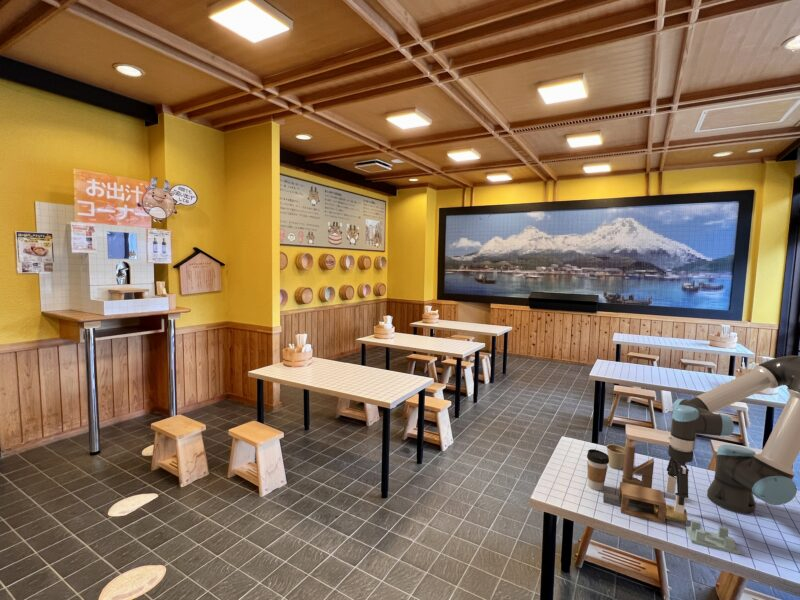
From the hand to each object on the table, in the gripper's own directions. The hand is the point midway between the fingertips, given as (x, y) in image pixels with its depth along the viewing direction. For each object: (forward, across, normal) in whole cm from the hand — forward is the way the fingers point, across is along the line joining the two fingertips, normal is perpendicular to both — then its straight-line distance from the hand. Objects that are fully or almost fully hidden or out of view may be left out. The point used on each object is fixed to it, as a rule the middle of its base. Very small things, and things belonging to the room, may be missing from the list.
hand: (674, 502), depth 149 cm
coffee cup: (+7, -11, -25) cm, 29 cm away
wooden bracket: (+7, -18, -9) cm, 22 cm away
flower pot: (+7, -35, -15) cm, 39 cm away
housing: (+7, 0, -10) cm, 12 cm away
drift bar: (+7, -1, -15) cm, 16 cm away
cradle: (+7, +9, +10) cm, 15 cm away
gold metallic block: (+4, 0, -1) cm, 4 cm away
